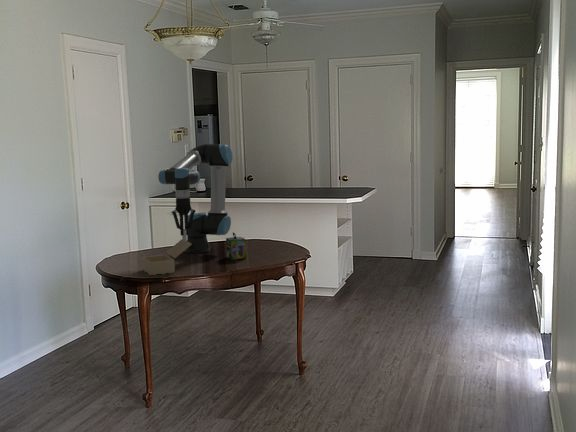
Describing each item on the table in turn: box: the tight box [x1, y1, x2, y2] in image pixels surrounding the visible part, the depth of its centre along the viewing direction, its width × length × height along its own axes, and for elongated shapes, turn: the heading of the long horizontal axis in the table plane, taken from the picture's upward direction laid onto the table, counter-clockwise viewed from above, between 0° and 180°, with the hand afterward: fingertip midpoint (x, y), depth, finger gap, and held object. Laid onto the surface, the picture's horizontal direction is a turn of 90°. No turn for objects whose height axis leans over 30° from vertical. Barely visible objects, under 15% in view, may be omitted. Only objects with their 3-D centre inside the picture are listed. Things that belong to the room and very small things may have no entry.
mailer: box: [141, 254, 176, 276], centre depth 329 cm, size 15×13×7 cm
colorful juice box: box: [225, 231, 247, 261], centre depth 358 cm, size 9×9×15 cm
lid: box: [166, 238, 192, 259], centre depth 333 cm, size 15×11×1 cm
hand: (184, 241), depth 334 cm, fingers closed
